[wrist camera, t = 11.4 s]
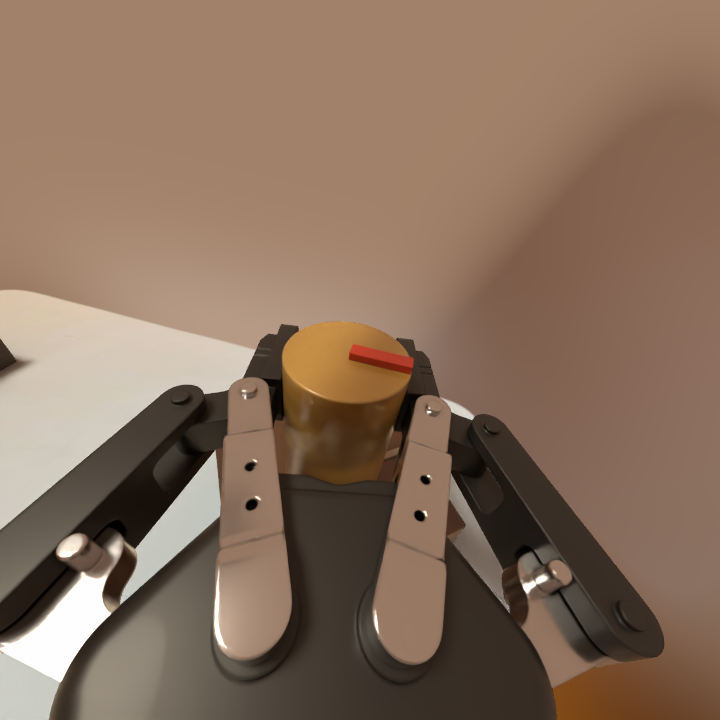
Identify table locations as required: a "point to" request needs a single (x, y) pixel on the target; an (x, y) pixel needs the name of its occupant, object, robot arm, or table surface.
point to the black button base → (5, 356)
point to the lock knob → (341, 400)
